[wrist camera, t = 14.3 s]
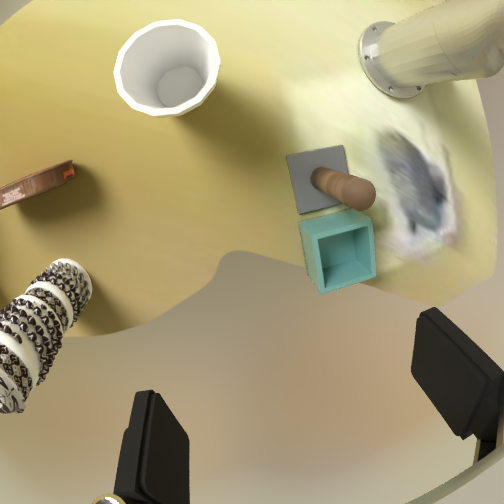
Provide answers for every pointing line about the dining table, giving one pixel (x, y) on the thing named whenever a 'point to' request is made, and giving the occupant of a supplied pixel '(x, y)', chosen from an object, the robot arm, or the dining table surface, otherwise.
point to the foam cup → (167, 68)
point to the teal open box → (338, 249)
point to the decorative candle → (38, 329)
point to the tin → (36, 184)
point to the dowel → (344, 187)
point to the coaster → (301, 174)
